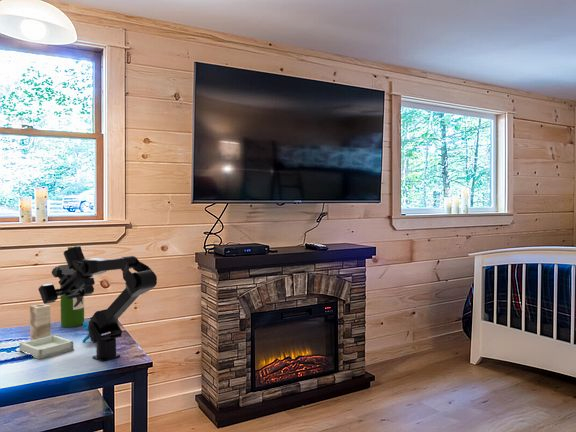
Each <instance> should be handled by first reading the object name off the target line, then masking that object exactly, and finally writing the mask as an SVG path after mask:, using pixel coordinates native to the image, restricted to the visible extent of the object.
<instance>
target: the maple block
mask: <svg viewBox="0 0 576 432" xmlns="http://www.w3.org/2000/svg"><path fill="white" fill-rule="evenodd" d="M51 324H52V323H51V305H49V304H48V303H47V304H44V303H39V304H35V305H29V326H30V327H29V330H30V337H29V338H30V341H31V340H35V339H39V338H43V337H47V336H52V334H51V333H52V332H51V331H52V328H51V327H52V326H51Z"/></svg>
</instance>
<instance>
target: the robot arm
mask: <svg viewBox="0 0 576 432" xmlns="http://www.w3.org/2000/svg"><path fill="white" fill-rule="evenodd" d="M73 247H74V248H71V249H68V248H67V249H66V250H64V251H63V253H62V254H63V256H64V259H65V261H66V263H67V264H61V265H58V266H55V267H54V268H52V270H51V275H52V276H53V277H54V278H58V279H59V281H58V284H59V286H60V285H61V288H60V287H59V288H55V285H54V284H53V283H47V284H46V283H45V284H41V285H40V286H39V287H38V292H39V294H40V298H41V300H42V304H47V305H48V304H51V303H54V302H56V301H57V300H58V297H60V296H61V295H65V296H67V298H68V299H72V298H77V297H82V296H84V297H86V296H91V295H92V294H93V293H95V287H94V285H95V283H96V282H95V278H94V276H95V275H102V274H104V273H107V271H116V270H121V271H122V272H121V273H122V279H123V280H124V282H125V288H124V289H123V290H122V291H121V293H120V294H118V296H117V297H116V299H115V300H114V301H113V302H112V303H111V304H110V305H109V306H108V307H107V308H105V309H102V310H97V311H95V312H94V314H93V315H92V316H91V317H89V319H90V320H89V321H88V323H89V325H88V330H89V331H88V333H89V335H90V337H89V339H90V341H91V342H92V343H93V344H96V347H95V348H96V354H95V355H93V356H92V359H95V360H98V361H100V362H106V361H110V360H113V359H116V358H120V357H121V354H119V353H117V338H121V337H122V334H123V330H122V329H121V327H120V325H119V318H120V317H121V316H122V315H123V314H124V313H125V312H126V311H127V310H128V308H129V307H131V305H132V304H133V303H134V302H135V301H136V299H137V298H139V297H140V296H141V295H143V294H145V293H147V292H149V291H150V290H152V289H153V288H155V287H156V286H157V283H158V276H157V275H156V274H155V272H154V271H153V270H152V268H150V267H149V265H147V264H145V263H143V262H141V261H140V260H139V259H138V258H137V257H136V256H134V255H129V256H127V255H126V256H122V257H118V258H110V259H107V258H105V257H99V256H98V257H92V258H91V257H90V258H85V256H84V253H83V250H82V246H81V245H75V246H73ZM130 269H133V270H134V272H131V271H130ZM74 270H76V271H74ZM101 334H102V336H101Z"/></svg>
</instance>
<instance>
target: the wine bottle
mask: <svg viewBox="0 0 576 432" xmlns="http://www.w3.org/2000/svg"><path fill="white" fill-rule="evenodd" d="M74 247H75V246H68V247H67V250H68V249H71V248H74ZM74 271H76V270H74ZM60 288H61V285H60V284H59V289H60ZM59 297H60V326H61V327H63V328H75V327H74V326H76V327H80V326H79V325H81V326H82V323H83V322H85V296H82V297H77V298H72V299H68V298H67V296H65V295H61V296H59Z"/></svg>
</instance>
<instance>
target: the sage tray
mask: <svg viewBox="0 0 576 432" xmlns="http://www.w3.org/2000/svg"><path fill="white" fill-rule="evenodd" d="M20 350H21V351H24V352H27V353H30V354H31V355H32V356H33V357H32V356H31V357H32V358H35V359H38V360H40V359H44V358H49V357H52V356H56V355H60V354H63V353H66V352H67V353H68V352H70V351H74V340H71V339H67V338H64V337H61V336H59V335H55V334H51V336H47V337H43V338H39V339H35V340H31V339H30V340H27V341H24V342H20V343H19V351H20Z"/></svg>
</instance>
